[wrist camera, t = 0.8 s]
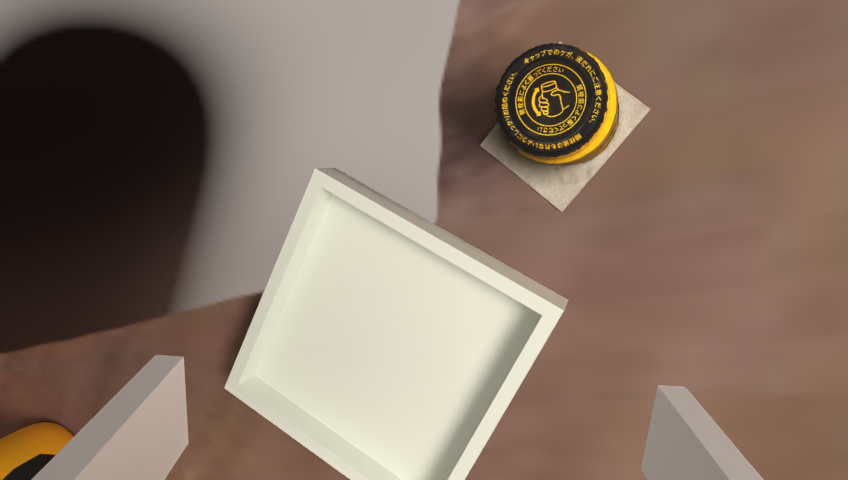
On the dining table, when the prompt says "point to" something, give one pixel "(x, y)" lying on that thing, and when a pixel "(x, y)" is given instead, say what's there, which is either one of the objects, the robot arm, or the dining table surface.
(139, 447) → the robot arm
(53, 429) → the beer bottle
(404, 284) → the tray
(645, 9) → the dining table surface
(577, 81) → the condiment
